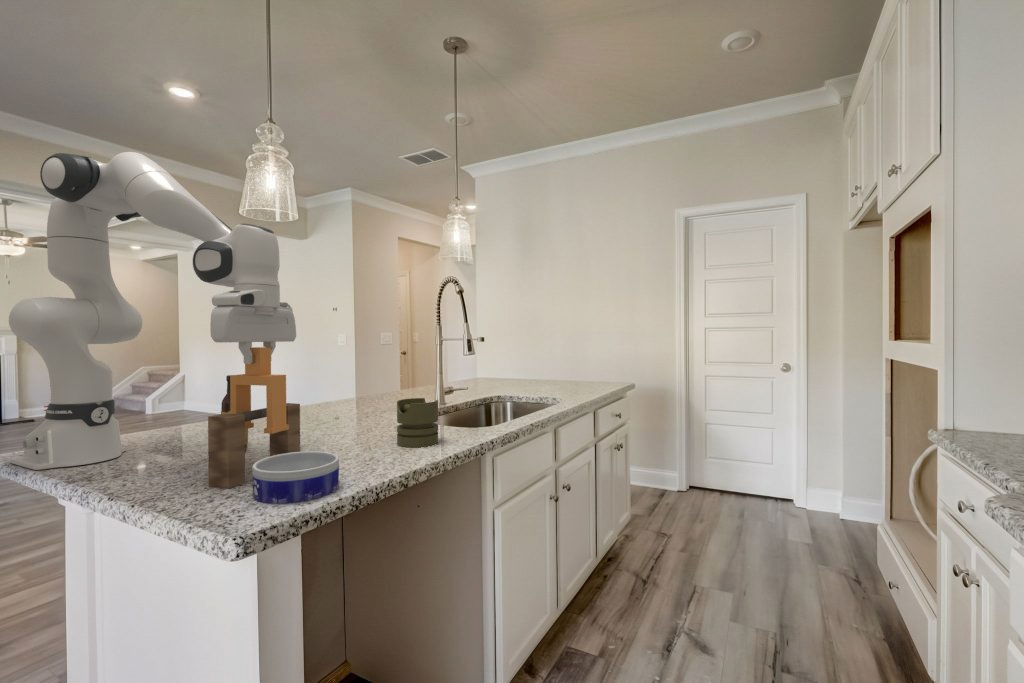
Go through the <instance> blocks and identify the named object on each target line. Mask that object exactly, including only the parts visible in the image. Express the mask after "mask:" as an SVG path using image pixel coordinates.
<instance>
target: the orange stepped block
mask: <svg viewBox="0 0 1024 683" xmlns="http://www.w3.org/2000/svg"><path fill="white" fill-rule="evenodd" d="M250 350H251V352H252V355H256V359H255V360H256V362H255V363H254V364H244V373H242V374H229V375H230V407H231V414H237V413H242V412H247V411H252V388H251V387H252V386H261V387H262V386H263V387H264V386H266V388H265V390H266V392H265V393H266V396H265V397H266V408H267V417H266V427H265V428H263V433H264V434H268V435H270V434H273V433H277V432H280V431H284V430H288V429H289V425H286V403H287V374H272V355H271V347H263V346H261V347H257V346H256V347H253V346H252V347H251V348H250ZM254 423H255V422H252V420H250V421H246V422H245V429H248V430H249V429H252V428H254V427H255V424H254Z"/></svg>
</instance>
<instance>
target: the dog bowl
mask: <svg viewBox="0 0 1024 683" xmlns="http://www.w3.org/2000/svg"><path fill="white" fill-rule="evenodd" d="M251 471H252V494H253V496H252V497H253V498H254V500H255V501H257V502H260V503H263V504H270V505H272V504H273V505H274V504H275V505H285V504H296V503H304V502H309V501H312V500H317V499H321V498H323V497H326V496H328V495H330V494H332V493H334V492H336V490H338V487H339V476H340V458H339V455H337V454H336V453H333V452H328V451H320V450H319V451H318V450H317V451H314V450H311V451H310V450H309V451H308V450H307V451H306V450H305V451H300V452H292V453H285V454H279V455H274V456H270V455H269V456H267V457H264V458H261V459H259V460H257V461H255V462H254V463H253V464H252V468H251Z"/></svg>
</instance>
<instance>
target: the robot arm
mask: <svg viewBox="0 0 1024 683" xmlns="http://www.w3.org/2000/svg"><path fill="white" fill-rule="evenodd" d="M39 178H40V181H41V183H42V186H43V187H44V189H45V190H46V192H47V193H48V194H50V195H51V196H53V197H55V198H54V199H53V200H52V201H51V203H50V207H49V211H48V215H47V222H46V249H47V251H46V252H47V268H48V272H49V273H50V274H51V276H52V277H54V278H55V279H57V280H58V281H60V282H62V283H64V284H65V285H66V286H67V287H68V288H69V289H70V290H71V291H72V293H73V296H74V298H71V297H59V296H58V297H56V296H43V297H34V298H33V297H32V298H24V299H22V300H20V301H19V302H17V303H16V304H15V305H14V306H13V307H12V308H11V309H10V312H9V315H8V326H9V328H10V330H11V332H12V333H13V335H14V336H16V338H18V339H19V340H21V341H22V342H24V343H26V344H27V345H29V346H31V347H32V348H33V349H34V350H35V351H36V352H37V353H38V354H39V355H40V357H41V358H42V360H43V361H44V363H45V366H46V368H47V371H48V376H49V377H48V378H49V388H50V389H49V390H50V391H49V392H50V403H49V404H48V405H45V406H43V408H46V409H44V410H43V411H44V412H45V415H44V419H45V420H44V421H43V422H41V423H40V424H39V425H38V426H37V427H35V429H33V430H32V431H31V432H29V434H27V435H26V436H25V439H23V441H22V449H23V454H21V455H17V456H14V457H11V458H10V459H9V464H13V465H16V466H20V467H23V468H27V469H31V470H34V471H36V470H37V471H39V470H46V469H54V468H65V467H75V466H76V467H77V466H81V465H82V466H83V465H90V464H96V463H100V462H105V461H109V460H112V459H116V458H119V457H121V456H122V453H124V452H126V447H125V446H122V438H121V431H120V423H119V420H118V419H116V418H115V416H114V414H115V413H116V404H115V399H113V371H112V369H111V367H110V366H109V365H108V364H106V363H105V362H103V361H102V360H98V359H96V358H95V357H94V356H93V355H92V354H91V352H90V350H89V346H88V345H109V344H110V345H113V344H119V343H123V342H128V341H132V340H134V339H136V338H137V337H138V336H139V335H140V333H141V331H142V329H143V318H142V316H141V313H140V311H139V310H138V309H137V308H136V307H135V306H134V305H132V304H131V303H129V302H128V301H127V300H126V298H124V297H123V295H122V293H120V291H119V289H118V287H117V285H116V283H115V281H114V278H113V274H112V270H111V269H112V267H111V260H110V245H109V243H110V242H109V232H108V231H109V230H108V229H109V223H110V222H111V221H112V219H113V218H114V217H115V218H116V219H117V220H119V221H121V222H127V221H129V220H130V219H135V218H141V217H143V218H144V219H145V220H146V221H149V222H150V223H152V224H154V225H155V226H158V227H161V228H164V229H167V230H171V231H174V232H178V233H180V234H183V235H184V234H185V235H187V236H190V237H193V238H195V239H197V240H199V241H202V243H200V244H199V245H198V247H197V248H195V251H194V252H193V255H192V268H193V271H194V274H196V277H198V278H199V279H200V281H202V282H204V283H206V284H207V283H208V284H210V285H216V286H221V287H227V288H233V290H229V291H227V292H222V293H218V294H215V295H212V296H211V303H212V305H213V306H214V307H213V309H212V310H211V314H210V337H211V339H212V340H213V342H214V343H238V350H239V351H240V352H241V355H242V356H243V364H244V365H245V364H254V363H255V362H256V360H255V359H256V355H252V352H251V350H250V348H253V343H263V344H262V347H271V356H272V355H273V353H274V351H275V349H276V342H277V343H279V342H280V343H282V342H283V343H285V342H295V340H296V338H297V326H296V319H295V314H294V311H293V308H292V307H291V305H290V304H289V303H288V302H285V301H283V302H281V297H280V296H281V294H280V293H281V292H280V290H281V289H280V288H281V286H280V282H279V278H278V277H279V276H278V275H279V270H280V266H281V265H280V249H279V248H280V246H279V242H278V237H277V235H276V233H275V232H274V231H273V230H271V229H270V228H267V227H264V226H260V225H255V224H251V223H239V224H237V225H235V226H234V228H233V229H232V228H231V227H230V226H229V225H227V224H226V223H225V222H224V221H222V220H221V219H220V218H219V217H218V216H216V215H215V214H214V213H212V211H210V210H209V208H207V207H205V205H204V204H203V203H201V202H199V200H197V198H195V197H194V195H192V194H191V193H190V192H189V191H188V190H187V189H186V188H185V187H184V186H183V185H182V184H180V183H179V181H178V180H177V179H176V178H175V177H173V176H172V175H171V173H169V172H168V171H167V170H166V169H165V168H163V167H162V166H161V165H160V164H158V163H157V162H155V161H154V160H152V159H151V158H149V157H147V155H144V154H142V153H140V152H135V151H124V152H120V153H118V154H116V155H114V156H113V157H112V158H111V159H110V161H109V162H107V163H106V162H105V163H104V162H102V161H98V160H95V159H93V157H91V156H87V155H80V154H75V153H74V154H72V153H67V152H64V153H63V152H59V153H54V154H52V155H50V156H48V157H47V158H46V159H45V160H44V161H43V163H42V165H41V167H40V177H39Z"/></svg>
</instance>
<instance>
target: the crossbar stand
mask: <svg viewBox="0 0 1024 683" xmlns="http://www.w3.org/2000/svg"><path fill="white" fill-rule="evenodd" d="M264 418H267V407H264V408H260V409H255V410H251V411H247V412H242V413H237V414H227V413H225V414H221V413H220V414H215V415H210V416H207V432H208V433H207V440H208V441H207V444H208V445H207V447H208V448H207V450H208V453H207V456H208V460H207V461H208V462H207V463H208V466H207V467H208V469H207V470H208V475H207V476H208V482H207V483H208V488H216V489H226V490H229V489H232V488H234V487H238V486H240V485H243V484H245V483H246V450H245V422H246V421H250V420H251V421H254V420H258V419H264ZM286 425H289V429H288V430H284V431H280V432H277V433H273V434H269V443H270V446H269V457H270V456H274V455H279V454H285V453H292V452H301V404H300V403H294V402H293V403H292V402H291V403H289V402H286Z"/></svg>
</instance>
